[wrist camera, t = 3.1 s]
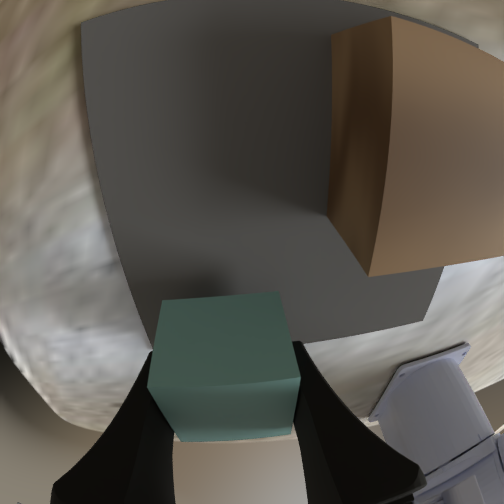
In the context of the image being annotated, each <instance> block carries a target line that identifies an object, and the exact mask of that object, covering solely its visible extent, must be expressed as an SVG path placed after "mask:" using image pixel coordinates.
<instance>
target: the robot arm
mask: <svg viewBox="0 0 504 504" xmlns="http://www.w3.org/2000/svg"><path fill="white" fill-rule="evenodd" d="M292 344H293V348H294V352H295V356H296V360H297V364H298V368H299V372H300V376H301V379H300V385H299V391H298V397H297V402H296V408H295V413H294V419H293V423H294V427H295V430H296V434H297V437H298V441H299V446H300V450H301V457H302V463H303V469H304V476H305V483H306V490H307V498H308V504H504V433H503V434H501V435H500V433H498V434H495V435H494V431H493V429H492V427H491V424H490V422H489V420H488V419H487V417H486V414H485V412H484V411H483V409H482V407H481V405H480V403H479V401H478V399H477V398H476V395H475V394H474V392H473V390H472V388H471V386H470V385H469V383H468V381H467V379H466V378H465V376H464V374H463V372H462V371H461V369H460V367H459V364H460V363H461V361H462V360H463V359H464V357H465V355H466V354H467V352H468V351H469V349H470V347H471V346H470V344H469V343H466V344H464V345H461V346H458V347H456V348H453V349H450V350H447V351H445V352H442V353H439V354H436V355H433V356H430V357H427V358H424V359H420V360H417V361H414V362H411V363H407V364H404V365H402V366H400V367H399V368H398V369H397V371H396V373H395V374H394V376H393V378H392V380H391V382H390V383H389V385H388V387H387V389H386V390H385V392H384V394H383V395H382V397H381V399H380V400H379V402H378V404H377V405H376V407H375V409H374V410H373V412H372V413H371V415H370V416H369V418H368V420H369V422H373V421H377V420H378V422H379V425H380V427H381V430H382V433H383V436H384V439H385V441H386V443H385V442H384V441H383V440H382V439H380V438H379V437H378V436H377V435H376V434H374V433H373V432H372V431H371V430H369V429H368V428H367V427H366V426H365V425H364V424H363V423H362V422H361V421H360V420H359V419H358V418H357V417H356V416H355V415H354V414H353V413H352V412H351V411H350V410H349V409H348V407H347V406H346V405H345V404H344V403H343V402H342V401H341V399H340V398H339V397H338V396H337V394H336V393H335V392H334V391H333V389H332V388H331V387H330V385H329V384H328V383H327V381H326V380H325V379H324V377H323V376H322V374H321V373H320V372H319V370H318V369H317V367H316V365H315V364H314V362H313V361H312V359H311V357H310V356H309V354H308V352H307V351H306V349H305V347H304V345H303V343H302V342H301V341H300V340H299V341H292ZM152 353H153V351H151V352H150V353H149V355H148V357H147V359H146V361H145V363H144V365H143V367H142V369H141V371H140V373H139V375H138V377H137V379H136V381H135V383H134V385H133V387H132V388H131V390H130V392H129V394H128V396H127V398H126V399H125V401H124V403H123V404H122V406H121V407H120V409H119V411H118V412H117V414H116V416H115V417H114V419H113V420H112V422H111V423H110V425H109V426H108V427H107V429H106V430H105V431H104V433H103V434H102V435H101V437H100V438H99V439H98V440H97V442H96V443H95V444H94V445H93V446H92V448H91V449H90V450H89V451H88V452H87V453H86V454H85V456H83V457H82V459H80V461H78V463H76V465H75V466H73V467H72V468H71V470H69V471H68V472H67V473H66V474H64V475H63V476H62V477H61V478H60V479H58V480H57V481H56V482H55V483H54V484H53V488H52V493H51V501H50V504H176V503H175V495H174V482H173V464H172V463H173V462H172V451H173V439H174V430H173V429H172V427H171V426H170V424H169V423H168V421H167V420H166V418H165V416H164V415H163V413H162V412H161V410H160V408H159V407H158V405H157V403H156V402H155V400H154V398H153V397H152V395H151V393H150V391H149V390H148V388H147V384H148V378H149V371H150V365H151V359H152ZM17 504H21V503H19V502H18V503H17Z"/></svg>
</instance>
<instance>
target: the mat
mask: <svg viewBox="0 0 504 504" xmlns="http://www.w3.org/2000/svg"><path fill="white" fill-rule="evenodd" d="M389 16H393V17H397V18H400V19H404V20H407V21H410V22H413V23H416V24H419V25H422V26H425V27H428V28H431V29H434V30H436V31H439V32H442V33H444V34H447V35H449V36H452V37H454V38H456V39H459V40H461V41H463V42H465V43H468V44H470V45H472V46H474V47H476V48H478V44H476V43H474V42H472V41H470V40H467V39H465V38H463V37H461V36H459V35H456V34H454V33H452V32H449V31H447V30H444V29H442V28H439V27H437V26H434V25H431V24H429V23H426V22H423V21H420V20H417V19H414V18H411V17H408V16H405V15H402V14H398V13H395V12H391V11H387V10H384V9H380V8H376V7H371V6H367V5H362V4H358V3H353V2H347V1H342V0H166V1H160V2H155V3H150V4H145V5H140V6H136V7H132V8H128V9H124V10H120V11H116V12H113V13H109V14H106V15H103V16H99V17H96V18H93V19H90V20H87V21H84V22H81V46H82V65H83V78H84V88H85V98H86V106H87V114H88V121H89V128H90V134H91V140H92V146H93V152H94V157H95V162H96V167H97V172H98V177H99V182H100V186H101V190H102V195H103V199H104V203H105V207H106V211H107V215H108V219H109V223H110V226H111V230H112V234H113V237H114V241H115V244H116V247H117V251H118V254H119V257H120V260H121V264H122V267H123V270H124V273H125V276H126V279H127V282H128V285H129V288H130V291H131V293H132V296H133V299H134V302H135V305H136V307H137V310H138V313H139V315H140V318H141V320H142V323H143V326H144V328H145V331H146V333H147V336H148V338H149V340H150V343H151V345H152V348H153V347H154V341H155V336H156V330H157V325H158V320H159V315H160V309H161V305H162V300H175V299H190V298H204V297H217V296H230V295H241V294H253V293H264V292H274V291H279V294H280V298H281V302H282V306H283V310H284V313H285V317H286V321H287V325H288V329H289V333H290V337H291V341H299V340H300V341H301V342H302V343H303V344H305V343H312V342H318V341H325V340H331V339H337V338H343V337H348V336H354V335H359V334H364V333H369V332H374V331H379V330H384V329H389V328H393V327H398V326H402V325H406V324H411V323H415V322H419V321H423V319H424V317H425V315H426V312H427V310H428V308H429V305H430V303H431V300H432V298H433V295H434V293H435V290H436V288H437V285H438V282H439V280H440V277H441V274H442V271H443V268H444V266H441V267H435V268H429V269H422V270H415V271H409V272H402V273H395V274H388V275H380V276H373V277H368V276H367V275H366V273H365V272H364V270H363V268H362V267H361V265H360V264H359V262H358V261H357V259H356V258H355V256H354V255H353V253H352V252H351V251H350V249H349V248H348V246H347V245H346V243H345V242H344V240H343V239H342V237H341V236H340V235H339V233H338V232H337V230H336V229H335V227H334V226H333V225H332V223H331V222H330V220H329V219H328V218H327V204H328V190H329V174H330V154H331V126H332V50H331V35H332V34H335V33H338V32H340V31H343V30H346V29H349V28H352V27H355V26H358V25H361V24H365V23H368V22H371V21H375V20H378V19H382V18H385V17H389Z"/></svg>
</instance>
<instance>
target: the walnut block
mask: <svg viewBox="0 0 504 504" xmlns="http://www.w3.org/2000/svg"><path fill="white" fill-rule="evenodd" d="M331 50H332V126H331V154H330V174H329V190H328V204H327V218H328V219H329V220H330V222H331V223H332V225H333V226H334V227H335V229H336V230H337V232H338V233H339V235H340V236H341V237H342V239H343V240H344V242H345V243H346V245H347V246H348V248H349V249H350V251H351V252H352V253H353V255H354V256H355V258H356V259H357V261H358V262H359V264H360V265H361V267H362V268H363V270H364V272H365V273H366V275H367V276H368V277H373V276H380V275H388V274H395V273H402V272H409V271H415V270H422V269H429V268H435V267H441V266H447V265H454V264H460V263H465V262H471V261H477V260H483V259H488V258H494V257H499V256H504V62H503V61H501V60H499V59H498V58H496V57H494V56H492V55H490V54H488V53H486V52H484V51H482V50H480V49H478V48H476V47H474V46H472V45H470V44H468V43H465V42H463V41H461V40H459V39H456V38H454V37H452V36H449V35H447V34H444V33H442V32H439V31H436V30H434V29H431V28H428V27H425V26H422V25H419V24H416V23H413V22H410V21H407V20H404V19H400V18H397V17H393V16H389V17H385V18H382V19H378V20H375V21H371V22H368V23H365V24H361V25H358V26H355V27H352V28H349V29H346V30H343V31H340V32H338V33H335V34H332V35H331Z"/></svg>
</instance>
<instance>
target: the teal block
mask: <svg viewBox="0 0 504 504" xmlns="http://www.w3.org/2000/svg"><path fill="white" fill-rule="evenodd" d="M300 379H301V376H300V372H299V368H298V364H297V360H296V356H295V352H294V348H293V344H292V341H291V337H290V333H289V329H288V325H287V321H286V317H285V313H284V310H283V306H282V302H281V298H280V294H279V291H274V292H264V293H253V294H241V295H230V296H217V297H204V298H190V299H175V300H162V305H161V309H160V315H159V320H158V325H157V330H156V336H155V341H154V347H153V353H152V359H151V365H150V371H149V378H148V384H147V388H148V390H149V391H150V393H151V395H152V397H153V398H154V400H155V402H156V403H157V405H158V407H159V408H160V410H161V412H162V413H163V415H164V416H165V418H166V420H167V421H168V423H169V424H170V426H171V427H172V429H173V430H174V432H175V433H176V435H177V436H178V438H179V439H180V441H181V442H204V441H229V440H243V439H254V438H264V437H273V436H280V435H287V434H291V429H292V424H293V419H294V413H295V408H296V402H297V397H298V391H299V385H300Z"/></svg>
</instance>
